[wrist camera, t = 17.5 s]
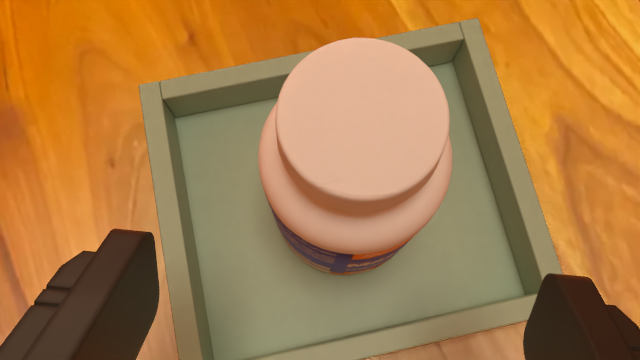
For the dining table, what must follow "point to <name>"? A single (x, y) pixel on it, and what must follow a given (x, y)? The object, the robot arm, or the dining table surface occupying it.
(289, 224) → the pill bottle
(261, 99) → the tray
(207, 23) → the dining table surface
